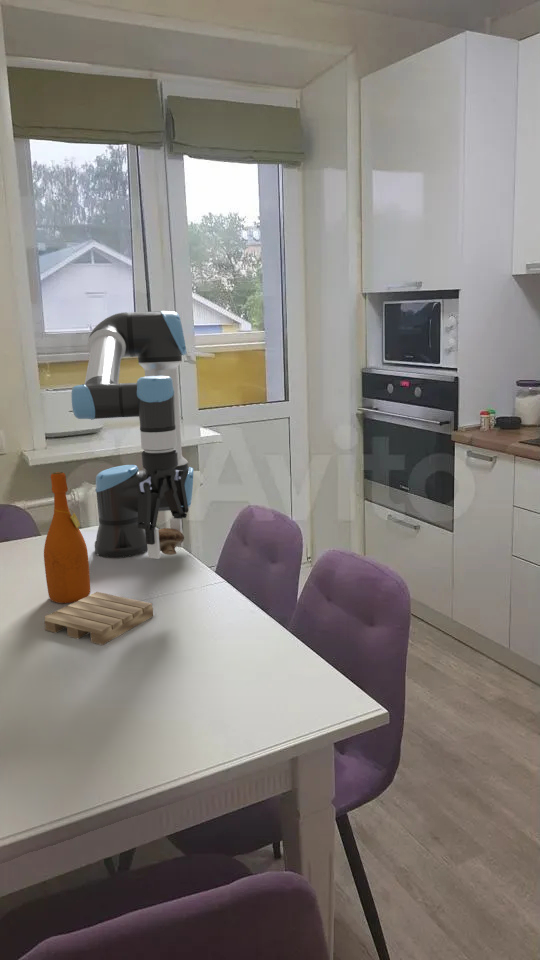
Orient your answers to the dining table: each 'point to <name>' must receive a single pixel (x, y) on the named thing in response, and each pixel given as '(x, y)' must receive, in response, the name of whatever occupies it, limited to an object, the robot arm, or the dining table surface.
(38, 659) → the dining table surface
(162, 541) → the mushroom
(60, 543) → the wine bottle
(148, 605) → the pallet
